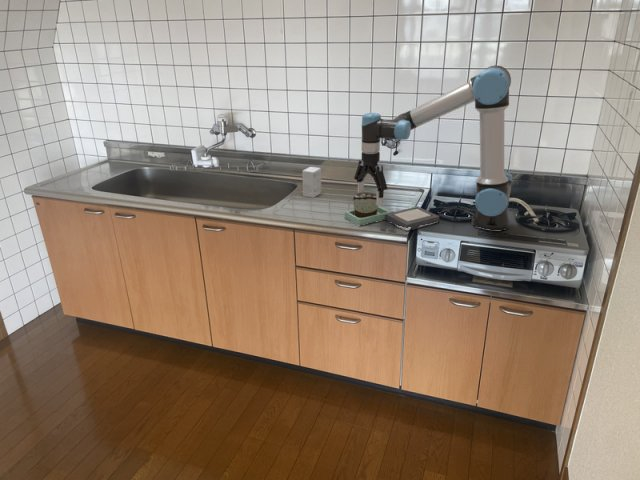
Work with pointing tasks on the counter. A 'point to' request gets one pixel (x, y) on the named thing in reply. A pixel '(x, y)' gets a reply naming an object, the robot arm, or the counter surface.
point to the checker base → (412, 224)
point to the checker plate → (412, 215)
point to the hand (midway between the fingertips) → (369, 200)
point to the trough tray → (360, 221)
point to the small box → (311, 182)
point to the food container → (365, 204)
